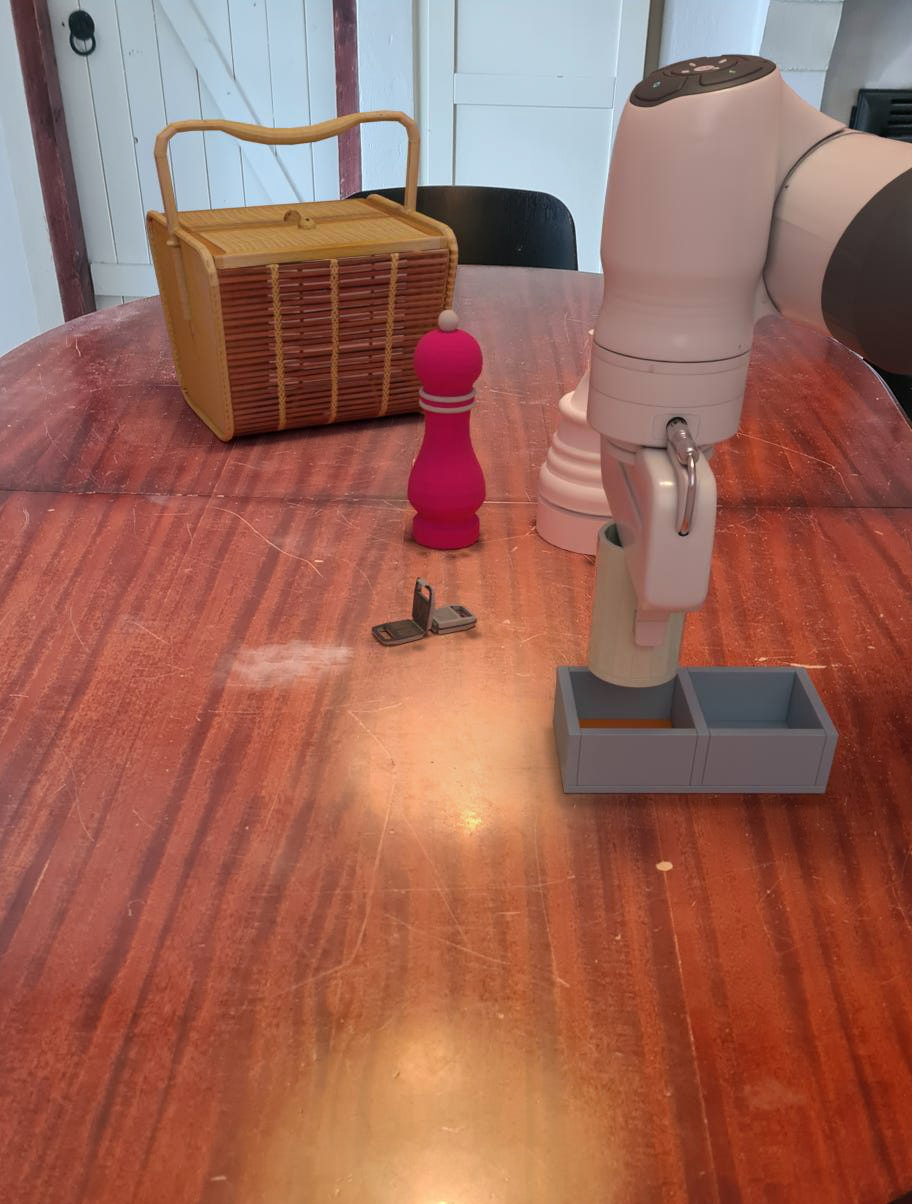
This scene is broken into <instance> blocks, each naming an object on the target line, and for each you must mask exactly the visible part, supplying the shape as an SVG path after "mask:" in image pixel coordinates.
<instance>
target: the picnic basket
mask: <svg viewBox="0 0 912 1204" xmlns="http://www.w3.org/2000/svg"><path fill="white" fill-rule="evenodd" d="M379 122H397V123H399V124H400V125H401V126H403V127H404V128H405V130H406V135H407V138H408V140H407V155H406V156H407V158H406V171H405V172H406V173H405V187H404V205H402V204H401V203H398V202H396V201H394V200H390V199H389V198H386V197H384V196H382V195H379V194H377V193H372V194H369V195H368V196H367V197H366V198H363V197H361V198H347V199H332V200H320V201H319V200H317V201H306V202H305V201H304V202H293V203H292V202H291V203H279V204H278V203H276V204H265V205H264V204H263V205H251V206H250V205H249V206H237V207H224V208H222V207H221V208H210V209H196V210H183V211H181V210H180V211H178V210H177V202H176V197H175V193H174V187H173V181H172V175H171V169H170V164H169V160H168V153H167V152H168V146H169V145H168V144H169V141H170V140H171V139H172V138H173V137H174V136H176V134H179V133H186V132H210V131H211V132H213V131H215V132H217V131H220V132H221V133H225V134H226V135H229V136H232V137H233V138H236V139H239V140H240V141H245V142H250V143H253V144H254V143H255V144H259V145H260V144H261V145H265V146H266V145H267V146H294V145H295V146H296V145H305V144H311V143H313V144H314V143H317V142H321V141H324V140H327V139H330V138H331V139H332V138H334V137H338V136H340V135H342V134H344V133H346V132H348V131H349V130H350V129H353V128H354V127H355V126H357V125H359V124H367V123H379ZM420 149H421V136H420V132H419V128H418V124H417V122H416V121H415V120H414V119H413V118H411V116H409V115H407V114H406V113H405V112H404V111H402V110H400V111H399V110H385V109H383V110H372V111H361V112H354V113H351V114H347V115H344V116H340V117H335V118H332V119H329V120H325V121H322V122H319V123H315V124H313V125H303V126H296V127H295V126H294V127H269V126H268V127H267V126H262V125H257V124H253V123H246V122H240V121H233V120H227V119H222V118H216V119H212V118H211V119H207V118H206V119H185V120H179V121H173V122H170V123H168V124H167V126H165V127H164V128H163V129H162V130H161V131H159V133H157V134H156V136H155V141H154V147H153V157H154V163H155V168H156V173H157V179H158V184H159V189H160V195H161V200H162V205H163V206H162V207H163V211H164V212H159V211H158V210H154V209H151V210H148V211H147V212H146V215H145V229H146V235H147V240H148V244H149V250H150V255H151V259H152V264H153V269H154V273H155V278H156V283H157V289H158V292H159V293H158V294H159V298H160V301H161V303H160V304H161V306H162V311H163V317H164V322H165V325H166V331H167V336H168V340H169V347H170V349H171V355H172V360H173V364H174V369H175V374H176V378H177V381H178V385H179V387H180V390H181V393H182V395H183V398H184V400H185V401H186V403H187V405H188V406H189V407H190V409H191V410H192V411H193V412H194V413H195V414H196V415H197V416H198V417H199V418H200V419H201V421H203V423H204V424H205V425H206V426H207V427H208V428H209V429H210V430H211V432H213V434H214V435H215V437H217V438H218V439H219V440H221V441H222V442H226V443H228V442H229V441H230V440H232V439H233V437H234V438H235V437H242V436H249V435H256V434H263V433H264V434H265V433H271V432H281V431H285V430H293V429H294V430H295V429H301V428H307V427H308V428H309V427H316V426H323V425H328V424H329V425H330V424H338V423H344V422H345V423H346V422H353V421H359V420H366V419H373V418H375V419H376V418H381V417H389V416H396V415H402V414H403V415H404V414H411V413H419V414H421V415H425V413H424V409H423V408H422V407H421V406H420V405H419V400H420V394H419V390H420V388H421V387H422V386H423V384H422V382H421V381H420V380H419V378H418V377H417V376H416V373H415V371H414V366H413V358H414V352H415V349H416V347H417V344H418V343H419V341H420V340H421V338H422V337H424V336H425V335H426V334H427V333H429V332H431V331H433V330H436V329H440V327H439V325H438V318H439V315H440V314H441V313H442V312H443V311H445V310H452V307H453V301H454V292H455V285H456V279H457V272H458V263H459V247H458V241H457V237H456V235H455V233H454V230H453V229H452V228H450V226H449V225H447V224H446V223H443V222H441V221H438V220H436V219H435V218H432V217H429V216H427V215H425V214H423V213H421V212H418V211H416V210H417V195H418V183H419V182H418V179H419V166H420V165H419V164H420V152H421V151H420Z"/></svg>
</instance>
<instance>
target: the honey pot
mask: <svg viewBox="0 0 912 1204" xmlns="http://www.w3.org/2000/svg"><path fill="white" fill-rule="evenodd" d="M593 331H594V328H593V329H590V330H589V331H588V342H589V346H590V348H591V349H592V341H593ZM589 377H590V366H588V368H587V369H586V371H585V372H584V374H583V376H582V377H581V378H580V380H579V383H578V384H577V385H576V388H575V389H574V390H571V391H569V392H568V393H565V394H564V395H563V396H562V397H561V398H560V399H559V400H558V406H557V407H558V408H557V409H558V412H559V413H560V414H561V416H562V417H561V420H560V422H559V425H558V427H557V429H556V430H555V432H554V433H553V434H552V442H551V445H550V446H549V448H547V449H548V450H547V454H546V460H545V461H544V462H543V463H542V464H541V466H540V469H539V474H538V486H537V487H538V489H537V491H538V492H537V502H536V503H537V504H536V506H537V507H536V523H535V530H536V532H537V533H538V535H539V537H541V538H542V539H543V540H544V541H546V542H547V543H548V544H550V545H553V546H555V547H557V548H559V549H562V550H565V551H569V552H572V553H577V554H582V555H588V556H589V555H590V556H595V557H596V548H597V538H598V531H599V530H600V528H601V527H602V526H603V524H605V523H608V522H610V521H612V520H613V517H612V514H611V511H610V508H609V504H608V501H607V498H606V495H605V492H604V489H603V484H602V476H601V461H600V433H598V432H597V431H595V430H594V429H593V428H591V427H590V425H589V424H588V422H587V419H586V413H587V402H588V390H589Z"/></svg>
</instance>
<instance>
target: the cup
mask: <svg viewBox="0 0 912 1204" xmlns="http://www.w3.org/2000/svg"><path fill="white" fill-rule="evenodd" d="M594 559H595V560H594V570H593V571H594V572H593V581H592V592H591V604H590V615H589V625H588V633H587V634H588V635H587V645H586V654H587V655H586V666H588V668H589V670H590V671H591V672H592V673H593V674H594V675H595V676H597V677H598V678H600V679H602V680H604V681H606V682H609V683H612V684H616V685H620V686H626V687H652V686H657V685H661V684H664V683H666V682H668V681H670V680H671V679H673V678H674V677H675V676H676V674H677V673H678V669H679V667H680V663H681V660H682V653H683V647H684V641H685V640H684V639H685V634H686V633H685V632H686V626H687V618H688V613H671V615H670V617H669V619H668V621H667V626H666V633H665V640H664V642H663V644H662V645H660V646H657V647H640V646H639V645H637V644H636V642H635V639H634V635H633V631H632V629H633V620H634V611H635V610H637V606H638V598H637V595H636V592H635V588H634V585H633V582H632V579H631V575H630V572H629V569H628V566H627V562H626V559H625V552H624V548H622V546H621V543H620V540H619V537H618V533H617V530H616V523H615V520H612V521H610V522H608V523H605V524H603V526H602V527H601V528H600V530H599V531H598V538H597V548H596V556H595V558H594Z"/></svg>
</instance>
